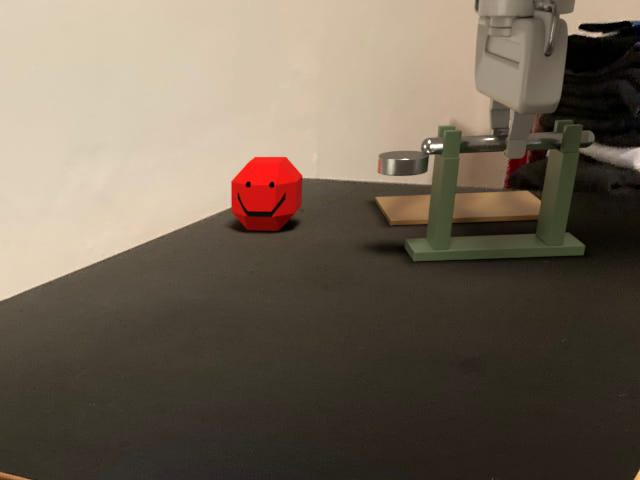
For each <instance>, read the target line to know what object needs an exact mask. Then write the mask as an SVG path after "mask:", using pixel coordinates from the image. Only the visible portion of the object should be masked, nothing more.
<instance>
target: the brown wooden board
mask: <svg viewBox="0 0 640 480" xmlns="http://www.w3.org/2000/svg"><path fill="white" fill-rule="evenodd" d="M430 196H431V194H419V195H418V194H417V195H415V194H413V195H390V196H389V195H388V196H375V197H374V202H375V204H376V206H377V207H378V209H379V210H380V212H381V213H382V215H383V216H384V218H385V220H386V221H387V223H388V224H389V226H414V225H417V226H418V225H428V216H429V206H430ZM540 205H541V200H540V199H539V198H538V197H537V196H536V195H534V194H533V193H532V192H530V191H529V190H515V191H514V190H511V191H487V192H464V193H463V192H462V193H456V194H455V203H454V211H453V220H452V224H463V223H464V224H465V223H488V222H515V221H517V222H518V221H538V217H539V211H540Z"/></svg>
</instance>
